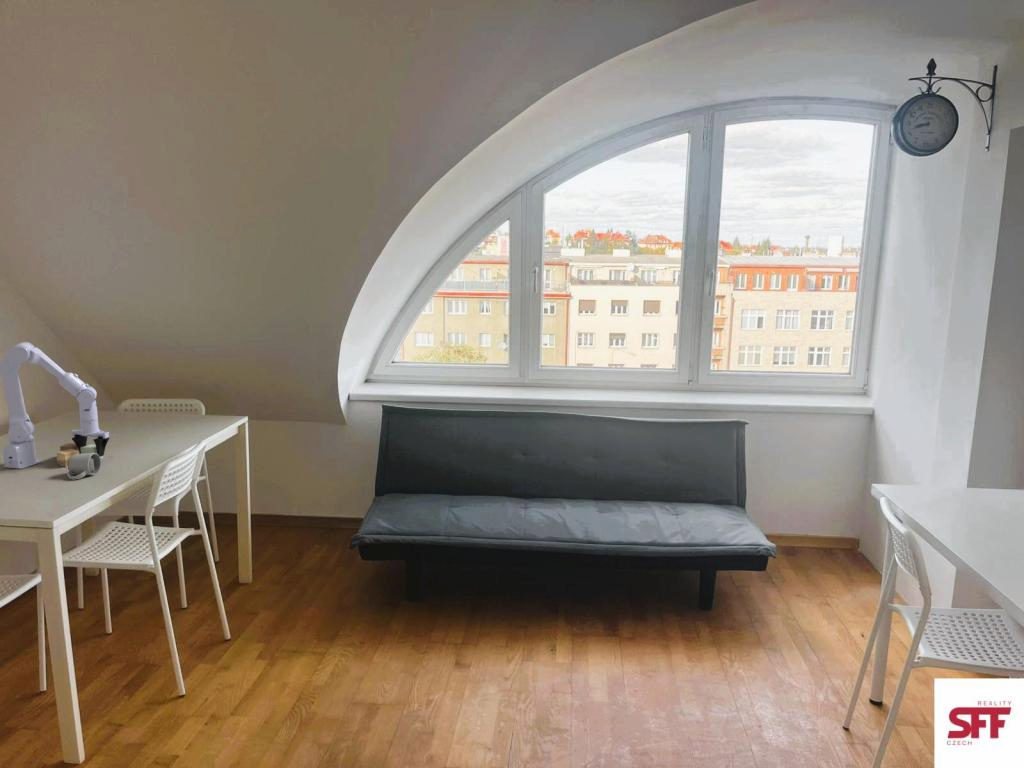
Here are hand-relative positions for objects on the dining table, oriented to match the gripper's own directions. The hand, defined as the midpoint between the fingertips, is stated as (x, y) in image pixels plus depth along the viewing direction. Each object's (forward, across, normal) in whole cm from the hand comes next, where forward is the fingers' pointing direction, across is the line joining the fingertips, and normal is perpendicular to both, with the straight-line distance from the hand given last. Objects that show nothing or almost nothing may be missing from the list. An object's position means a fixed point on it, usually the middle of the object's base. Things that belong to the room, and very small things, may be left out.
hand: (92, 455), depth 278 cm
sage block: (+2, 0, 0) cm, 2 cm away
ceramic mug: (+2, -12, +18) cm, 22 cm away
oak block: (+2, +3, +8) cm, 9 cm away
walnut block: (+2, +9, 0) cm, 9 cm away
